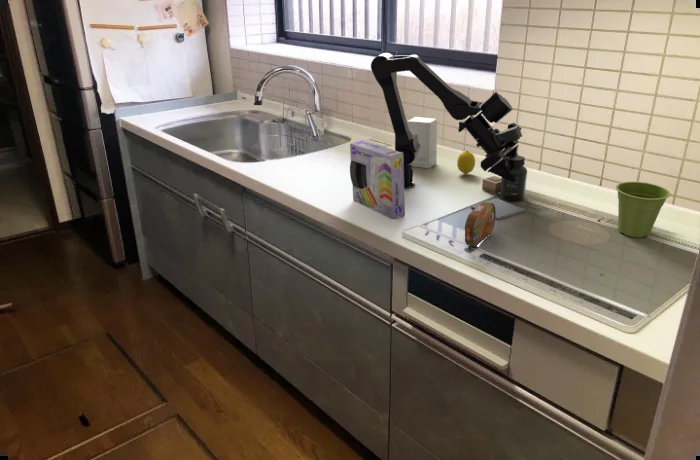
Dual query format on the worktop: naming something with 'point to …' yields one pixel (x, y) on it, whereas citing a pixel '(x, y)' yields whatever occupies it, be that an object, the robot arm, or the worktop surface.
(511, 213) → the slate mat
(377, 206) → the cake pan box
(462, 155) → the lemon
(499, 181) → the wooden letter block
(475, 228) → the tin
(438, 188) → the worktop surface
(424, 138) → the skincare box
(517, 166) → the supplement bottle
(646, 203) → the plant pot
